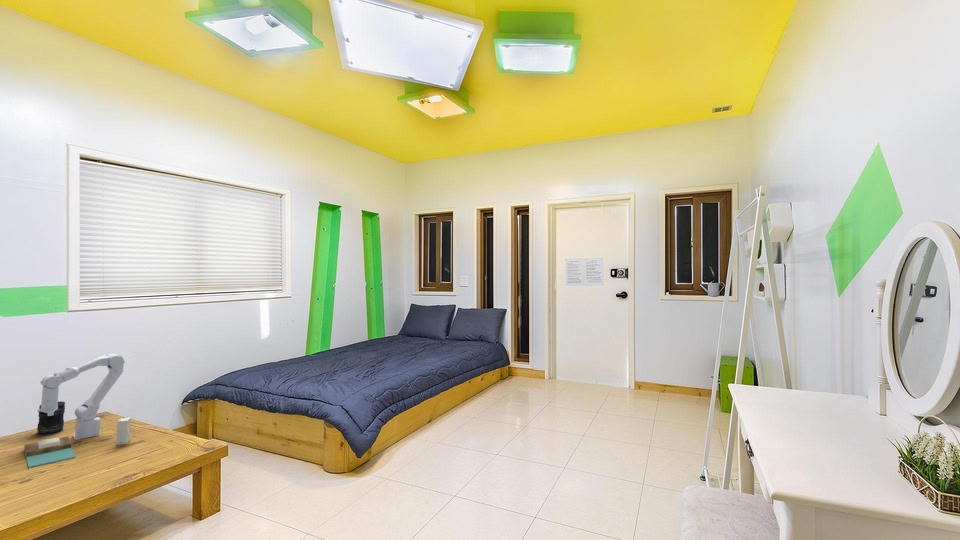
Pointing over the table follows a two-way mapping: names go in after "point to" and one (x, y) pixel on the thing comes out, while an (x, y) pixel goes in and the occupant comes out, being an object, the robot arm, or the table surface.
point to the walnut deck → (34, 450)
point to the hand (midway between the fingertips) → (47, 426)
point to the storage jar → (57, 422)
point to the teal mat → (50, 457)
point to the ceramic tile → (48, 443)
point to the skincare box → (123, 430)
